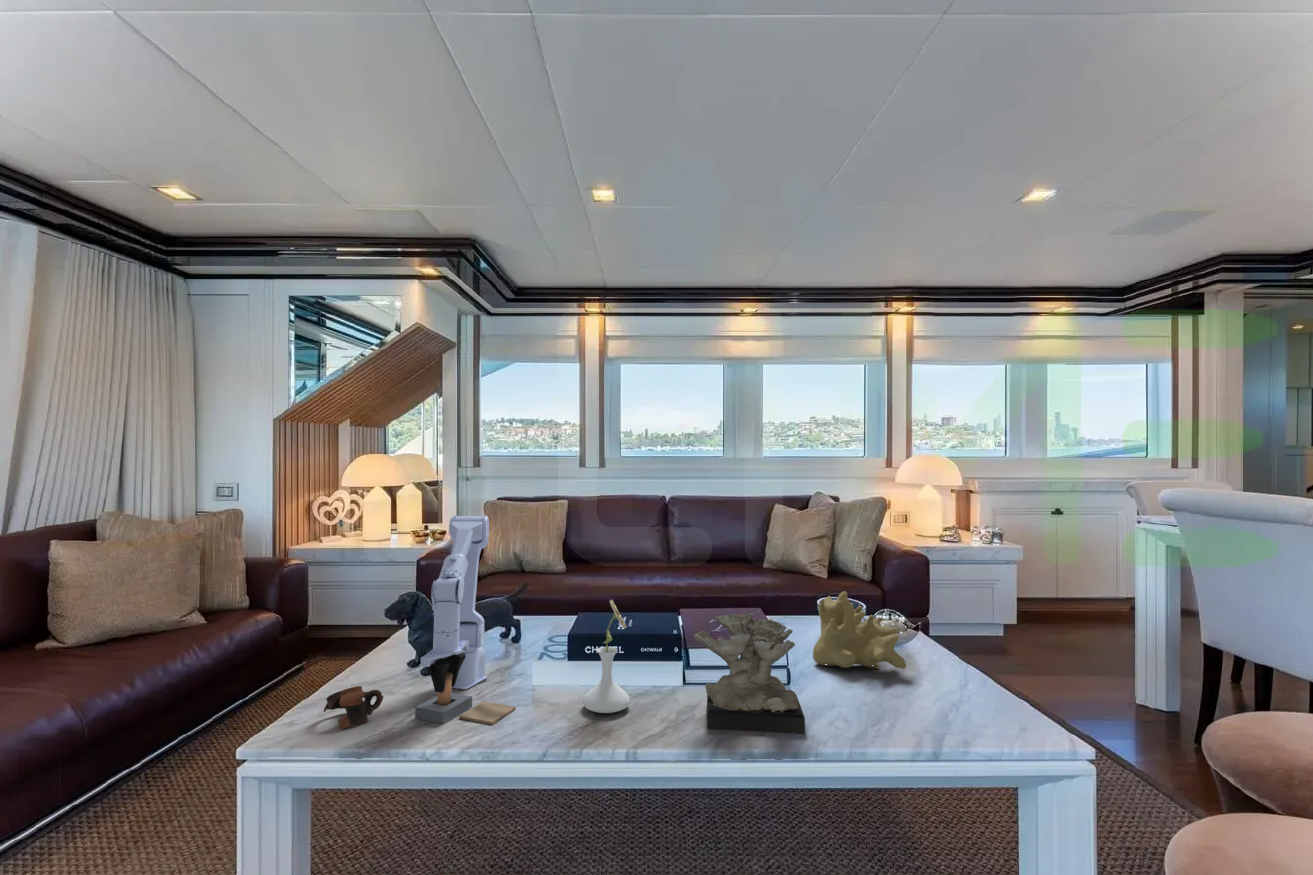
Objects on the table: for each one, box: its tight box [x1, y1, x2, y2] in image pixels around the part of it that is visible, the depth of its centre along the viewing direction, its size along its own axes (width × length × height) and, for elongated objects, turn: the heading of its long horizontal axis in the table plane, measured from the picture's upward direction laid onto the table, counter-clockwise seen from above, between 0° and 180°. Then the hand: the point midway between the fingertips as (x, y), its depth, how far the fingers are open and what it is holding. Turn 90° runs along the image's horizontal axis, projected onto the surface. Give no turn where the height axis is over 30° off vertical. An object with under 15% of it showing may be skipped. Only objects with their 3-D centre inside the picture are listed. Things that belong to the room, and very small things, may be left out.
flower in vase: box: [582, 599, 631, 714], centre depth 143 cm, size 13×11×25 cm
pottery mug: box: [323, 685, 384, 730], centre depth 134 cm, size 12×10×8 cm
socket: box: [414, 692, 473, 724], centre depth 138 cm, size 10×8×2 cm
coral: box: [693, 613, 806, 735], centre depth 141 cm, size 25×20×22 cm
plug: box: [437, 672, 453, 706], centre depth 138 cm, size 3×3×7 cm
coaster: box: [458, 701, 517, 725], centre depth 137 cm, size 9×9×1 cm
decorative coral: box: [812, 590, 907, 670], centre depth 175 cm, size 26×22×25 cm
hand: (444, 688), depth 138 cm, fingers closed on plug, 3 cm apart
